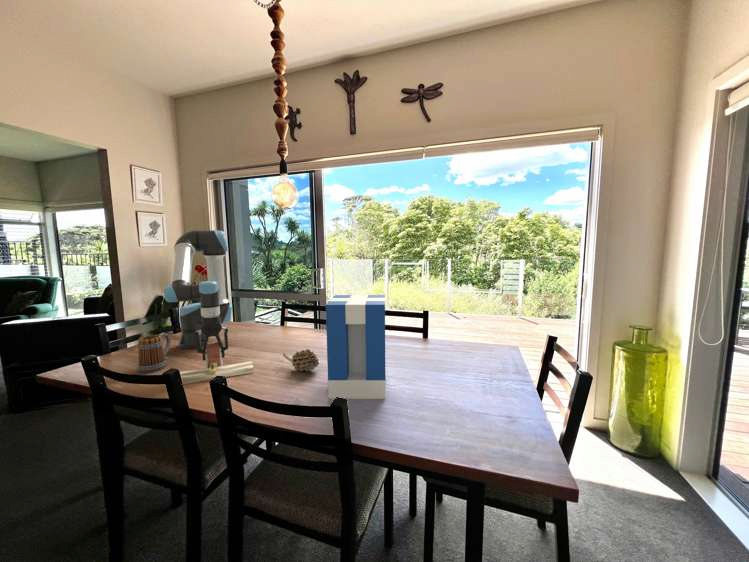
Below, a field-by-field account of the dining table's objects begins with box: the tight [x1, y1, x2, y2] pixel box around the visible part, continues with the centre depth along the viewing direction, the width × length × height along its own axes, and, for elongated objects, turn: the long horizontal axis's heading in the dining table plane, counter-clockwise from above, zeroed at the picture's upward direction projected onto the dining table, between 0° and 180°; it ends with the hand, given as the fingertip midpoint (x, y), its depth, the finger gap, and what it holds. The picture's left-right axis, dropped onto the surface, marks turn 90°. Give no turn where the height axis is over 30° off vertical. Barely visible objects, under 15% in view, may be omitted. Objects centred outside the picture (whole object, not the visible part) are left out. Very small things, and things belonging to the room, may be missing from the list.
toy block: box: [325, 294, 387, 400], centre depth 123 cm, size 21×21×35 cm
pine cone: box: [282, 348, 320, 372], centre depth 142 cm, size 22×10×10 cm, turn 62°
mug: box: [137, 332, 171, 374], centre depth 146 cm, size 16×11×15 cm
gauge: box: [206, 340, 221, 374], centre depth 138 cm, size 14×5×12 cm, turn 24°
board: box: [179, 361, 254, 385], centre depth 137 cm, size 9×30×2 cm, turn 114°
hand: (214, 365), depth 143 cm, fingers closed on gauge, 5 cm apart
